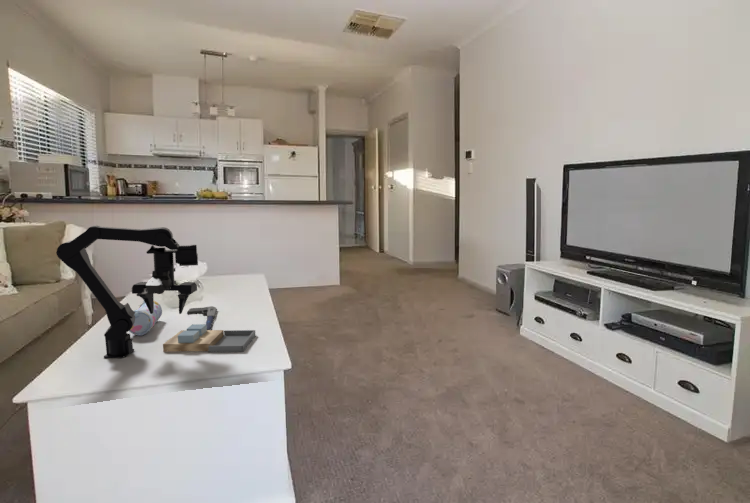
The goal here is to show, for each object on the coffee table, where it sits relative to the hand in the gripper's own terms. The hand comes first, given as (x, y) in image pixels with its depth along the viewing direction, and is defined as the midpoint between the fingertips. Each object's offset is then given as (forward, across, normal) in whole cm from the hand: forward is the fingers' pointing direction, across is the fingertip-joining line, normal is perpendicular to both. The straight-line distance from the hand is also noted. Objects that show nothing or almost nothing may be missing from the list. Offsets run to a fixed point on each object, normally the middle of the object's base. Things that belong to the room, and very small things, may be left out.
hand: (166, 313), depth 142 cm
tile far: (+9, +7, +8) cm, 14 cm away
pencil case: (+12, -18, +22) cm, 31 cm away
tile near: (+9, +7, 0) cm, 11 cm away
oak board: (+12, +7, +4) cm, 14 cm away
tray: (+11, +20, +4) cm, 24 cm away
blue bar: (+12, -1, +31) cm, 33 cm away
